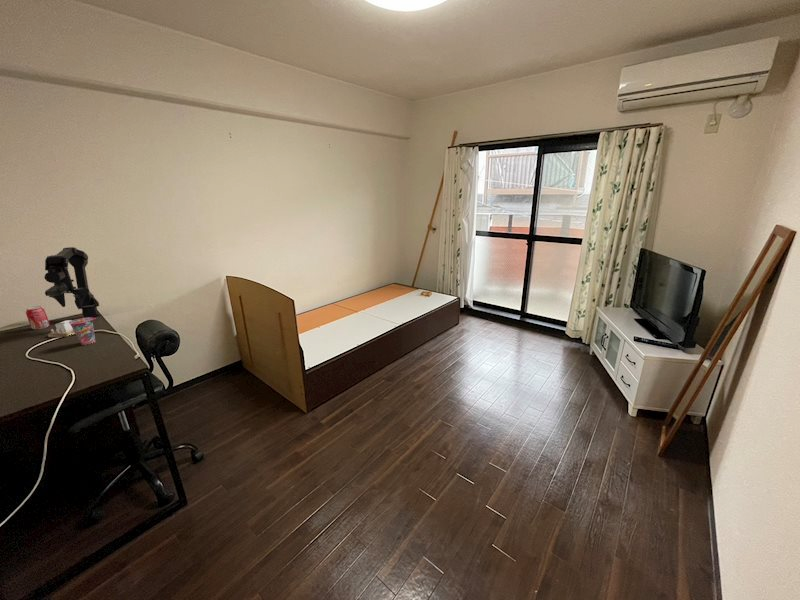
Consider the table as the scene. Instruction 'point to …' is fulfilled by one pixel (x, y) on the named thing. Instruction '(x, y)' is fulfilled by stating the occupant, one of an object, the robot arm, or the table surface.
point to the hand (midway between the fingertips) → (72, 306)
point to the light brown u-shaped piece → (60, 333)
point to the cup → (84, 330)
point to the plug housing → (64, 326)
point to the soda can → (37, 317)
